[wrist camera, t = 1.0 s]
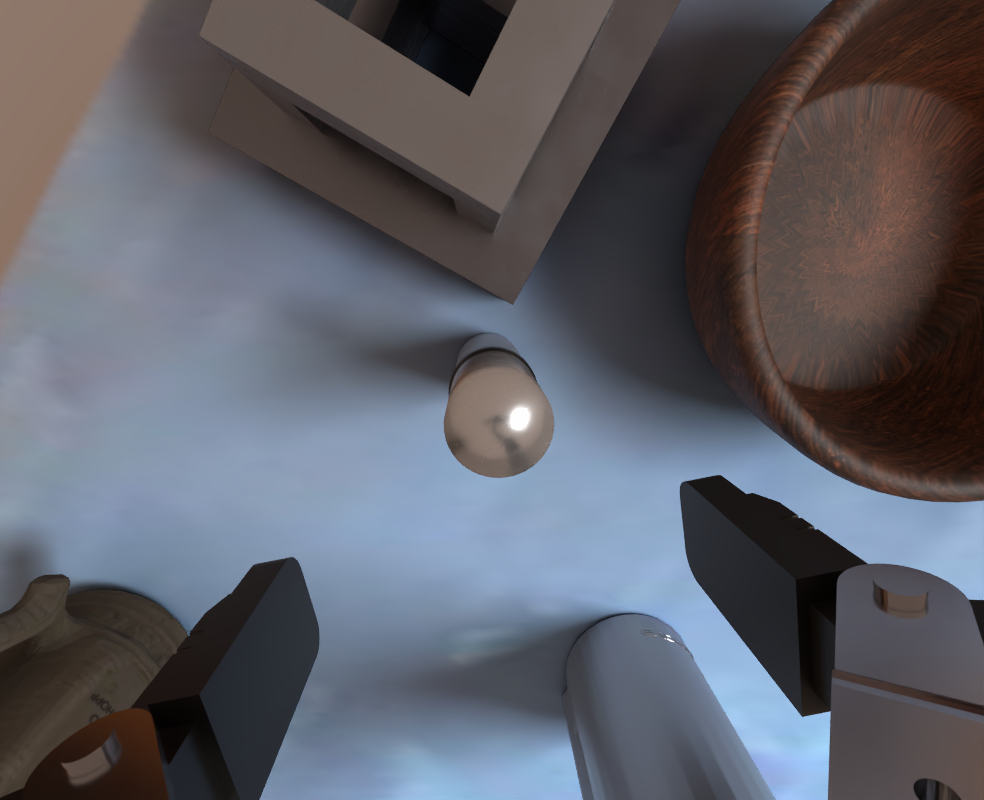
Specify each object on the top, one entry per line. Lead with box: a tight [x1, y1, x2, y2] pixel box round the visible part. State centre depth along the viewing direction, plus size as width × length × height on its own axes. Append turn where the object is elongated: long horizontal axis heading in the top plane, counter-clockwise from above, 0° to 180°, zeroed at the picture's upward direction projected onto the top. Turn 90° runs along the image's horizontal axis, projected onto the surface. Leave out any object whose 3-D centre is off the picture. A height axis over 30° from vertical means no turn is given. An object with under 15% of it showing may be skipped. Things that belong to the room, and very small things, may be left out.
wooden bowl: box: [685, 0, 984, 502], centre depth 26 cm, size 25×25×10 cm
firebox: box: [199, 0, 681, 305], centre depth 22 cm, size 16×16×13 cm
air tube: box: [444, 333, 554, 478], centre depth 25 cm, size 4×4×14 cm
